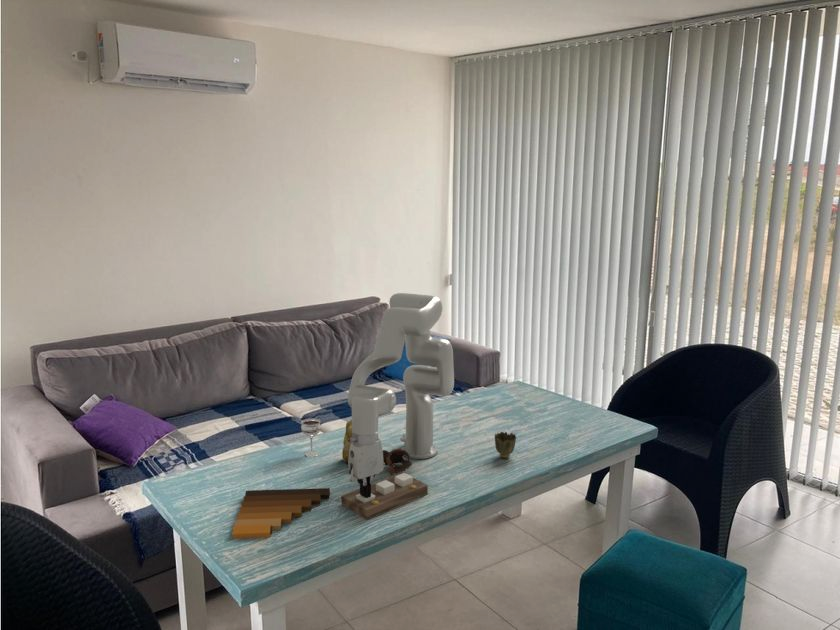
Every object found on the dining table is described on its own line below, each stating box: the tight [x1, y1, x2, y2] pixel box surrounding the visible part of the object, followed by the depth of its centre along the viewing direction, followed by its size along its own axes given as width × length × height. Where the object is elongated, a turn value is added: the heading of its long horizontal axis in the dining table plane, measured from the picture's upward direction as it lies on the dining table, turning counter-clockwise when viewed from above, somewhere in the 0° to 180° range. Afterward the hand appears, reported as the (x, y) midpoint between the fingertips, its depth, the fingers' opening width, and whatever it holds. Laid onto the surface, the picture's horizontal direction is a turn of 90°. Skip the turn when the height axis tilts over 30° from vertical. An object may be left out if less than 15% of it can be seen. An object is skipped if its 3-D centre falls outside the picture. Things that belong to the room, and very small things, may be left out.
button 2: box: [395, 472, 414, 487], centre depth 217 cm, size 4×4×2 cm
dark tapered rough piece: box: [494, 431, 517, 460], centre depth 243 cm, size 8×7×8 cm
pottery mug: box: [382, 448, 413, 476], centre depth 233 cm, size 12×10×8 cm
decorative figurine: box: [341, 418, 352, 463], centre depth 238 cm, size 10×8×15 cm
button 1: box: [356, 494, 375, 503], centre depth 207 cm, size 4×4×2 cm
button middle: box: [376, 480, 395, 495], centre depth 212 cm, size 4×4×2 cm
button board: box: [340, 472, 429, 521], centre depth 212 cm, size 12×24×3 cm, turn 133°
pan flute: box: [232, 487, 331, 539], centre depth 202 cm, size 25×3×25 cm
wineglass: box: [300, 417, 322, 458], centre depth 244 cm, size 7×7×12 cm
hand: (365, 495), depth 206 cm, fingers closed
